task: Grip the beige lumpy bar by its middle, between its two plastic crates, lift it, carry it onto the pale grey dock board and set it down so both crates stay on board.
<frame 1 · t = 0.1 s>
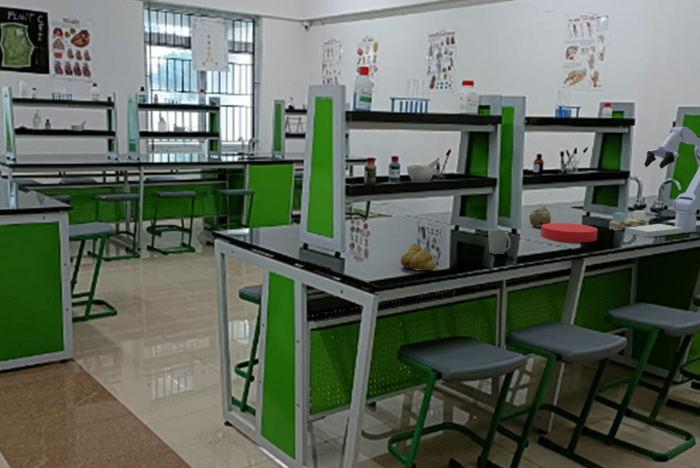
hand: (652, 166, 301), 32 cm above the lab bench, tool tilted 50°, fingers open, 7 cm apart
disc: (568, 238, 299), on the lab bench
dock: (653, 232, 314), on the lab bench
crate white: (638, 219, 329), point 4 cm above the lab bench, touching beige lumpy bar
rock: (539, 226, 327), on the lab bench
cup: (499, 254, 260), on the lab bench
bread roll: (417, 269, 232), on the lab bench
beige lumpy bar: (628, 228, 326), on the lab bench, touching crate teal, crate white
crate teal: (618, 221, 322), point 4 cm above the lab bench, touching beige lumpy bar
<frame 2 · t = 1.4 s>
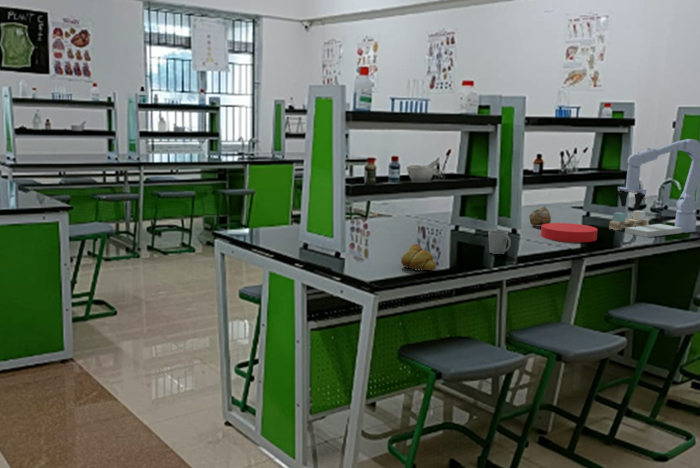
hand: (630, 207, 324), 10 cm above the lab bench, tool pointing down, fingers open, 7 cm apart
nothing on the lab bench moved.
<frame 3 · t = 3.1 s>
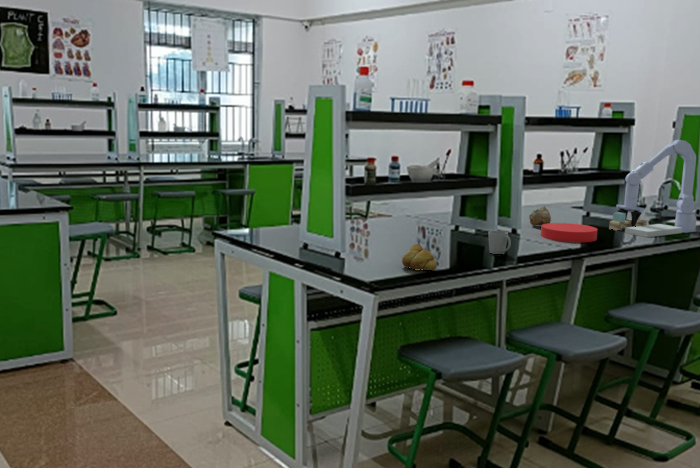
hand: (628, 225, 326), 2 cm above the lab bench, tool pointing down, fingers closed on beige lumpy bar, 5 cm apart
beige lumpy bar: (628, 228, 326), on the lab bench, touching crate teal, crate white, gripper
everything else where it was.
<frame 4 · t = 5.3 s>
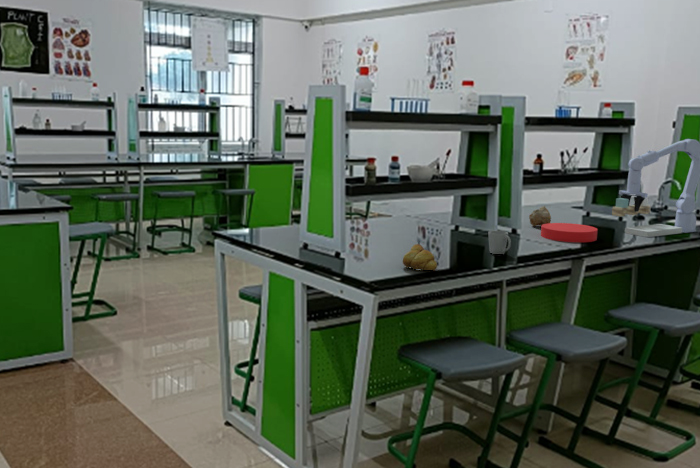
hand: (631, 210, 324), 9 cm above the lab bench, tool pointing down, fingers closed on beige lumpy bar, 5 cm apart
crate white: (641, 205, 327), point 11 cm above the lab bench, touching beige lumpy bar
beige lumpy bar: (630, 214, 324), point 7 cm above the lab bench, touching crate teal, crate white, gripper
crate teal: (621, 207, 320), point 11 cm above the lab bench, touching beige lumpy bar
everything else where it was.
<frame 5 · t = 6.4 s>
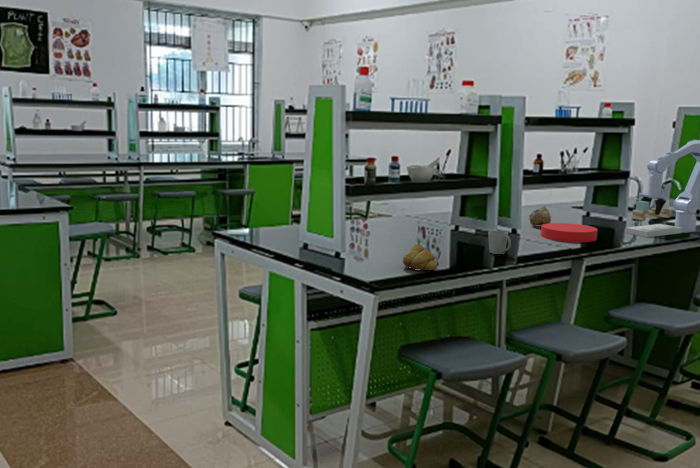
hand: (652, 213, 314), 9 cm above the lab bench, tool pointing down, fingers closed on beige lumpy bar, 5 cm apart
crate white: (661, 208, 318), point 11 cm above the lab bench, touching beige lumpy bar
beige lumpy bar: (651, 217, 315), point 7 cm above the lab bench, touching crate teal, crate white, gripper
crate teal: (642, 210, 310), point 11 cm above the lab bench, touching beige lumpy bar
everything else where it was.
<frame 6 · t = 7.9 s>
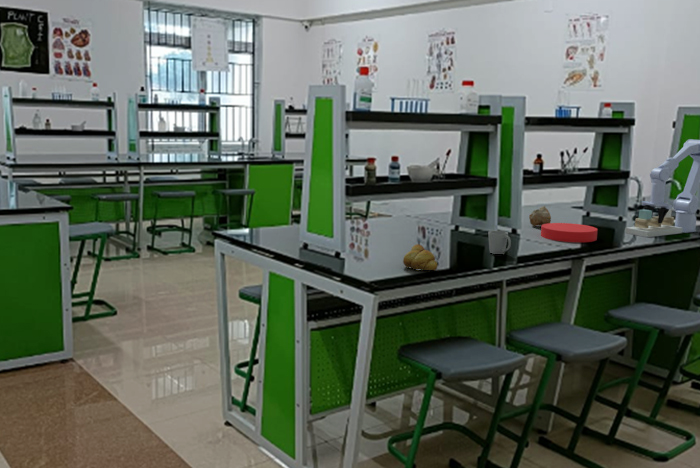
hand: (654, 222, 314), 5 cm above the lab bench, tool pointing down, fingers closed on beige lumpy bar, 5 cm apart
crate white: (664, 216, 317), point 7 cm above the lab bench, touching beige lumpy bar
beige lumpy bar: (654, 226, 314), point 3 cm above the lab bench, touching crate teal, crate white, gripper
crate teal: (644, 218, 309), point 7 cm above the lab bench, touching beige lumpy bar
everything else where it was.
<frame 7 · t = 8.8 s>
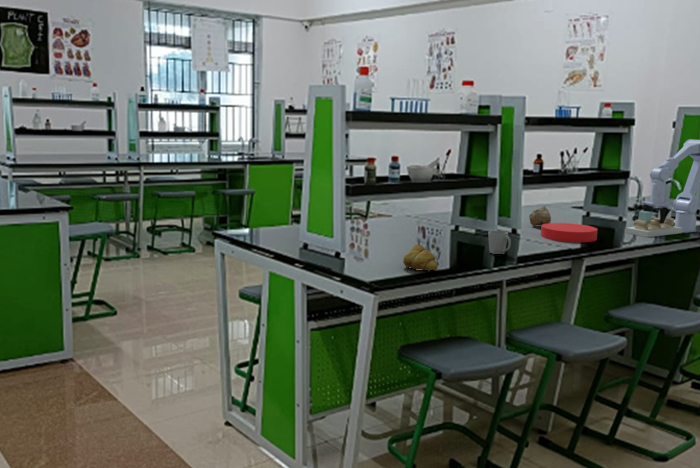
hand: (654, 222, 314), 5 cm above the lab bench, tool pointing down, fingers open, 7 cm apart
beige lumpy bar: (654, 227, 314), point 2 cm above the lab bench, touching crate teal, crate white, dock
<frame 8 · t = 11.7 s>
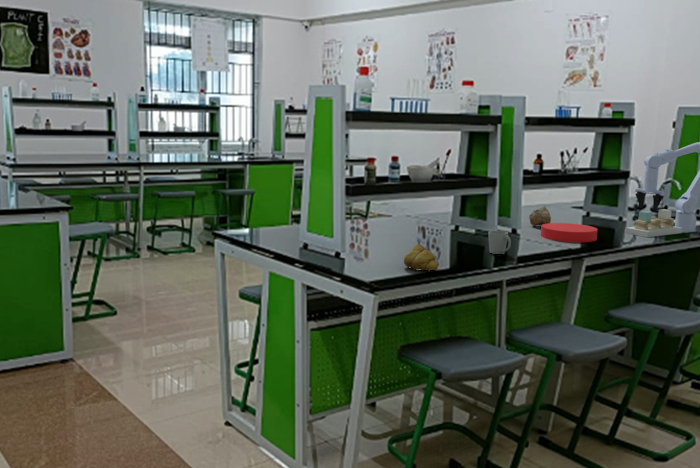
hand: (648, 208, 321), 10 cm above the lab bench, tool pointing down, fingers open, 7 cm apart
at the end: beige lumpy bar inside the target area on the dock (0.1 cm from its centre), point 2.5 cm above the dock's base; crate white inside the target area on the beige lumpy bar (7.5 cm from its centre), point 4.0 cm above the beige lumpy bar's base; crate teal inside the target area on the beige lumpy bar (7.5 cm from its centre), point 4.0 cm above the beige lumpy bar's base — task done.
